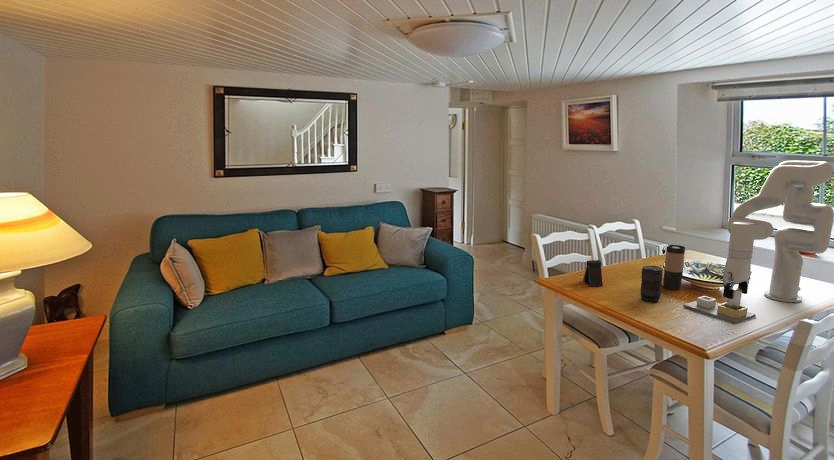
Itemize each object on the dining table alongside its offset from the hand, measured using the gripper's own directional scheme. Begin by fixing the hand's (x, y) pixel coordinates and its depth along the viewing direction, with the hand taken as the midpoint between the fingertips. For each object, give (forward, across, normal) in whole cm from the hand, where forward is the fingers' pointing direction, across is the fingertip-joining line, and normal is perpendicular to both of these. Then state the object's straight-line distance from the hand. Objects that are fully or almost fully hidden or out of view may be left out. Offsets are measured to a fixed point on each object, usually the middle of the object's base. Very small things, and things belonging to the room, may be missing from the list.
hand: (735, 295), depth 172 cm
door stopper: (+8, +17, -55) cm, 58 cm away
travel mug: (+9, -11, -33) cm, 36 cm away
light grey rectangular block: (+7, +1, 0) cm, 7 cm away
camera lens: (+9, +13, -27) cm, 31 cm away
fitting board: (+9, +1, -5) cm, 10 cm away
